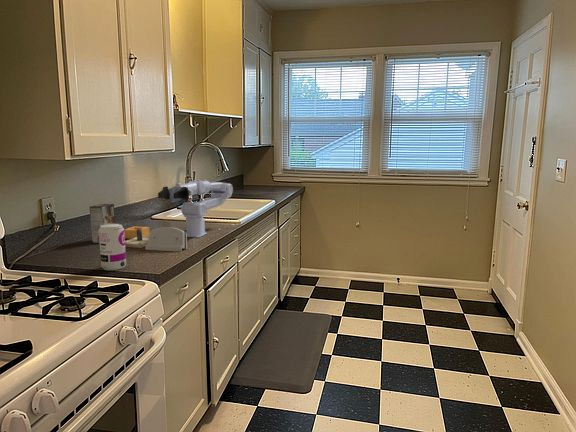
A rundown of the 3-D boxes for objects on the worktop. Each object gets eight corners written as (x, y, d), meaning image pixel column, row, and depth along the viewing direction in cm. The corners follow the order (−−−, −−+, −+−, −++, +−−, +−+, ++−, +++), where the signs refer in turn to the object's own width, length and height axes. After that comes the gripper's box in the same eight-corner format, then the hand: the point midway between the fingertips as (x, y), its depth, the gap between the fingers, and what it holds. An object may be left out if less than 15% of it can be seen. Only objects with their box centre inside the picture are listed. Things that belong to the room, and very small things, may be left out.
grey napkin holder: (144, 249, 180) (147, 225, 182) (150, 250, 185) (153, 227, 186) (181, 251, 176) (184, 226, 178) (186, 252, 181) (189, 228, 183)
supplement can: (129, 264, 158) (126, 223, 156) (121, 270, 150) (118, 227, 148) (106, 264, 158) (103, 223, 156) (97, 271, 150) (94, 227, 148)
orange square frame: (134, 234, 209) (134, 226, 208) (149, 235, 207) (149, 227, 206) (124, 238, 201) (123, 229, 201) (140, 239, 199) (139, 230, 199)
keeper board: (138, 239, 199) (138, 226, 197) (158, 240, 196) (158, 226, 195) (120, 246, 185) (119, 232, 184) (141, 247, 183) (140, 233, 182)
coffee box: (104, 238, 202) (101, 203, 199) (117, 238, 201) (114, 203, 198) (91, 242, 193) (89, 206, 191) (105, 243, 192) (102, 206, 189)
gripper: (170, 181, 198) (151, 186, 186) (198, 181, 193) (180, 186, 181) (171, 197, 200) (152, 202, 187) (199, 197, 195) (181, 203, 182)
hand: (166, 195), depth 184 cm, fingers open, 7 cm apart
